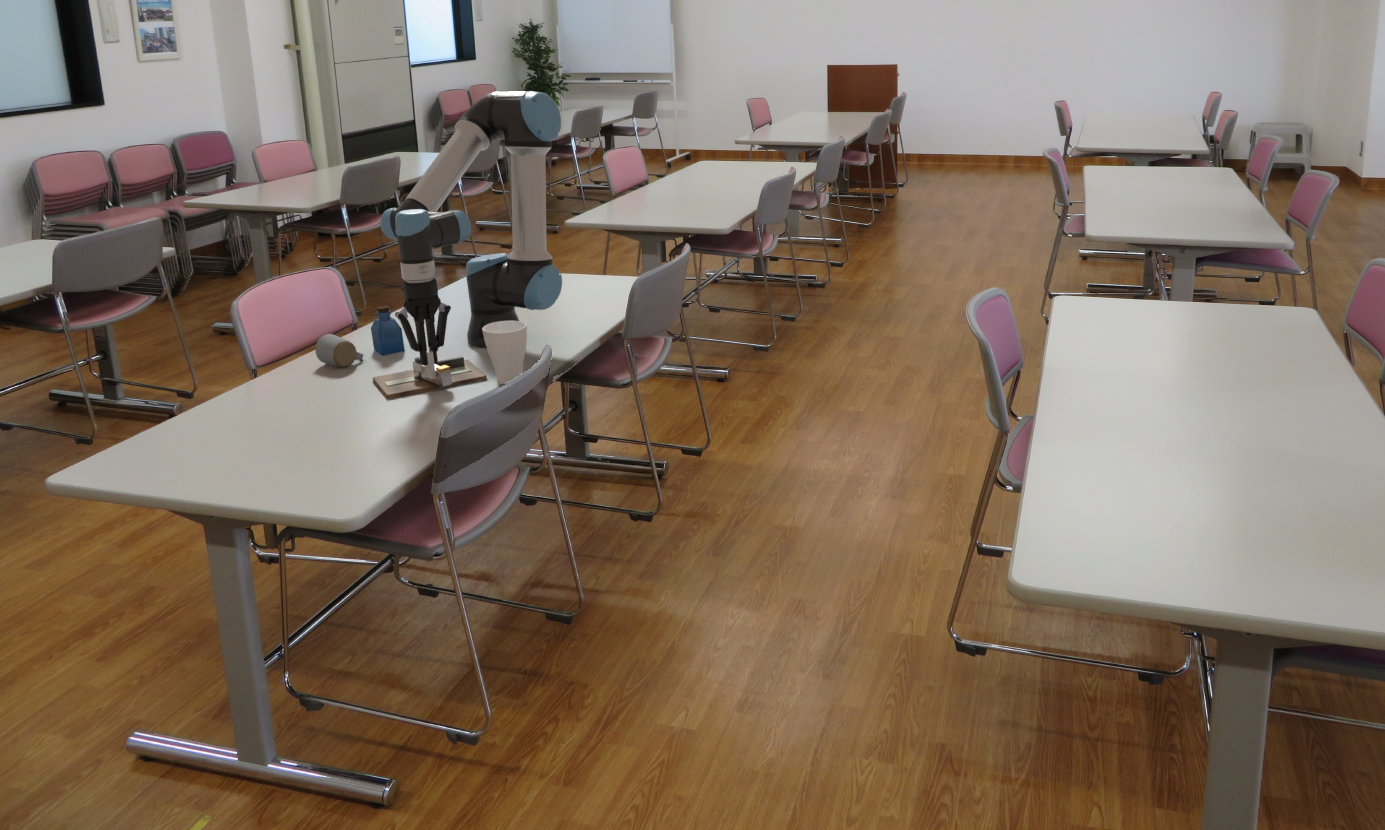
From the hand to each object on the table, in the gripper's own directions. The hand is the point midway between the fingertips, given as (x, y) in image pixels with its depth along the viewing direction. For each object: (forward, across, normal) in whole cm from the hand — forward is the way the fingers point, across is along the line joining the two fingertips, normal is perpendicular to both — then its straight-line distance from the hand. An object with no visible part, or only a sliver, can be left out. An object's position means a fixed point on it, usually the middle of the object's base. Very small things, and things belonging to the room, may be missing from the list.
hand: (431, 377), depth 250 cm
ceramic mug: (+4, -10, +36) cm, 37 cm away
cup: (+3, +18, -6) cm, 19 cm away
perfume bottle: (+3, +3, +38) cm, 39 cm away
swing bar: (+2, +2, +3) cm, 4 cm away
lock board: (+3, +2, +8) cm, 9 cm away
